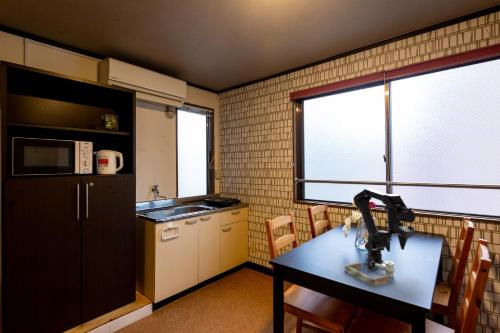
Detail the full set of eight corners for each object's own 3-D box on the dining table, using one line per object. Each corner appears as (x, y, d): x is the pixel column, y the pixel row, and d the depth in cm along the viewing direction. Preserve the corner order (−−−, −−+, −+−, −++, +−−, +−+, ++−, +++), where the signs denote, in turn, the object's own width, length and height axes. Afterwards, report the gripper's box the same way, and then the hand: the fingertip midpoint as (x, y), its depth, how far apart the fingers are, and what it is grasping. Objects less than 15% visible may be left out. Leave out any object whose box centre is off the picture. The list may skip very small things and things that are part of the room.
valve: (397, 276, 119) (374, 267, 130) (397, 262, 119) (374, 255, 130) (390, 279, 116) (366, 270, 126) (390, 265, 116) (366, 257, 126)
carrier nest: (344, 271, 125) (344, 265, 125) (359, 267, 129) (359, 262, 129) (373, 286, 109) (373, 279, 109) (388, 282, 113) (388, 275, 113)
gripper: (393, 223, 114) (395, 257, 113) (422, 220, 120) (424, 253, 119) (374, 219, 124) (376, 251, 123) (402, 217, 130) (404, 247, 129)
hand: (395, 250), depth 123 cm, fingers open, 9 cm apart
